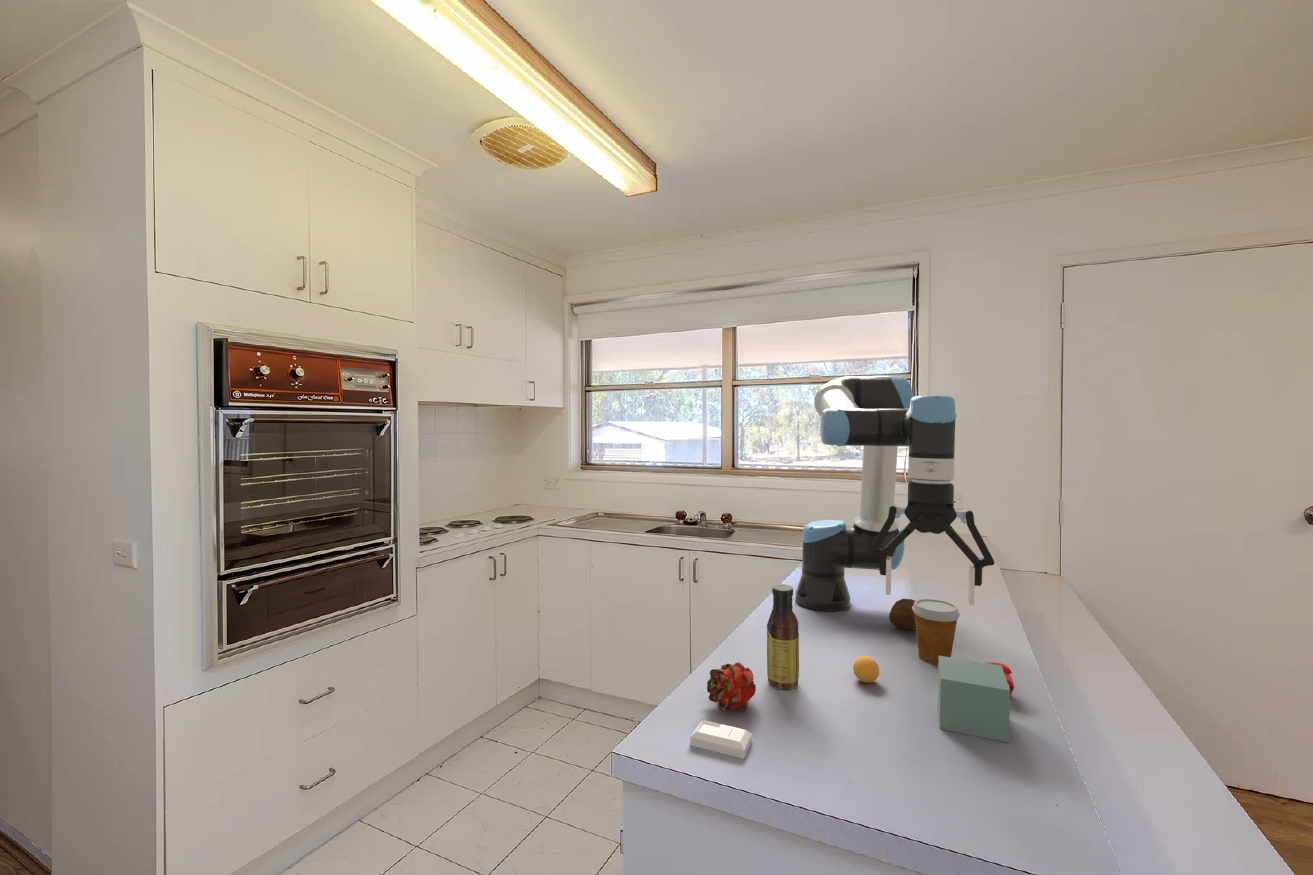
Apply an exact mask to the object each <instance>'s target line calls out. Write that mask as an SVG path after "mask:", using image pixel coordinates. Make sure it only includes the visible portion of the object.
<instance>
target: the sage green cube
mask: <svg viewBox="0 0 1313 875" xmlns="http://www.w3.org/2000/svg"><path fill="white" fill-rule="evenodd" d="M988 663H989V662H983V661H982V662H981V661H975V660H969V659H962V658H957V657H952V656H951V657H944V656H939V658H938V664H937V665H938V667H937V670H938V671H937V696H936V697H937V698H936V700H937V712H938V714H937V715H938V724H939V725H938V726H939V729H940V730H945V731H950V732H955V733H959V734H960V733H961V734H965V735H969V736H974V737H979V738H983V739H988V740H994V741H999V742H1003V743H1009V741H1010V740H1009V738H1010V736H1009V734H1010V711H1011V710H1010V707H1011V695H1010V689H1009V685H1008V683H1007V680H1006V677H1005V674H1004V671H1003V669H1002V666H1001V665H995V664H988Z"/></svg>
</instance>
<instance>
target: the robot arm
mask: <svg viewBox="0 0 1313 875" xmlns="http://www.w3.org/2000/svg"><path fill="white" fill-rule="evenodd" d="M813 402H814V408H815V411H816V412H817V414H818V415H819V416H820V437H821V438H820V439H821V440H820V441H821V442H822V444H824V445H827V446H837V447H843V446H844V447H846V446H853V447H854V446H857V447H861V446H862V447H863V449H862V450H863V451H862V469H861V472H862V473H861V488H860V490H861V491H860V505H859V506H860V507H859V515H858V516H856V517H855V518H854V520H853V526H849V525H848V526H847V524H846V522H845V521H844V520H841V519H821V520H814V521H812V522H809V523H807V524H806V525H804V526H803V529H802V539H801V542H802V557H801V558H802V559H801V560H802V561H801V562H802V563H801V565H802V566H801V576H800V578H799V581H798V584H797V587H796V590H795V598H794V599H795V602H796V603H797V604H798V605H800V606H802V607H804V608H807V609H810V610H814V611H815V610H816V611H822V612H823V611H824V612H838V611H839V612H840V611H844V610H846V609H849V608H850V607H851V595H850V591H849V588H848V585H847V581H846V579H845V569H861V570H875V571H876V570H877V571H879V574H880V576H885V595H887V596H890V595H891V592H892V571H893V570H896V569H897V568H899V566H900V565H901V563H902V561H903V557H904V552H905V540H906V539H907V538H908V537H909V536H910V535H911V534H912V533H914V531H915V530H916V531H917V532H919V533H922V534H927V533H931V534H935V535H940V534H943V533H945V534H946V535H947V536H948V537H949V539H951V540H952V542H953V543H954V544H955V545H956V546H957V547H958V548H959V549H960V551H961V552H962V553H963V554H964V556H966V558H967V559H968V560H969V561H970V563H971V564H968V594H967V595H968V596H967V597H968V605H969V606H973V607H974V606H975V586H977V587H981V586H982V584H983V568H985V567H989V566H990V567H991V566H994V565H995V564H996V563H995V562H996V561H995V559H994V558H993V556H992V553H991V551H990V550H989V548H988V546H987V545H986V543H985V540H984V539H983V537H982V535H981V533H980V531H979V530H978V527H977V526H976V524H975V515H974V512H973V510H972V509H969V508H968V509H966V510H958V511H957V510H955V508H954V501H955V485H954V483H951V481H954V480H955V459H956V458H955V449H956V447H955V445H956V444H955V443H956V419H957V413H956V401H955V399H954V398H953V397H952V396H949V395H916V396H914V394H913V389H912V385H911V383H910V381H909V380H908V378H905V377H903V376H895V375H872V376H870V375H869V376H868V375H866V376H864V375H862V376H861V375H860V376H854V375H853V376H851V375H849V376H842V377H839V378H835V379H832V380H831V381H828V382H827V383H826V382H825V383H824V384H823V385H822V386H820V388H819V389H818V391H817V392H816V394H815V397H814V401H813ZM899 447H906V448H907V447H908V459H907V460H908V466H907V468H908V472H907V473H908V474H907V478H908V479H910V481H909V482H908V483H907V505H906V507H902V506H897V505H896V504H895V494H896V480H897V479H896V477H897V476H896V475H897V462H898V461H897V460H898V448H899ZM902 515H904V516H906V518H907V519H908V524H907V525H906V526H905V527H904V528H903V529H901V528H900V527H899V523H898V521H896V520H895V519H899V518H900V517H901V516H902ZM957 518H958V519H960V521H961V523H963V524H966V526H967V528H968V530H969V532H970V534H971V536H972V538H973V540H974V542H975V543H976V545H977V547H978V549H979V551H980V553H981V555H982V557H980V558H979V557H978V555H977V554H976V552H974V551H973V549H971V547H970V546H969V544H968V543H966V542H965V541H964V539H963V538H962V537H961V535H960V534H958V533H957V531H956V530H955V529H954V528H953V526H952V523H954V521H955V520H956V519H957Z"/></svg>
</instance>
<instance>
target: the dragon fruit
mask: <svg viewBox="0 0 1313 875" xmlns="http://www.w3.org/2000/svg"><path fill="white" fill-rule="evenodd" d="M709 675H710V678H709V679H708V680H707V682H706V685H707V686H706V690H707V691H706V692H707V693H709V695H708V699H709V701H710V702H713V703H718V705H717V707H718V709H721V710H724V711H725V712H728V711H731V710H732V708H735V709H737V710H742V711H746V710H747V704H748V702H749V701H750V700H751V699H752V697H754V696H755V694H756V691H757V689H756V688H757V687H756V684H755V681H754V679H755V678H754V674H753V670H751V669H750V667H745V666H744V665H743V664H742V663H741V662H739V661H738V662H735V663H734V664H732V663H725V664H723V665H721V668H717V669H715V668H714V669H711V670H710V671H709Z"/></svg>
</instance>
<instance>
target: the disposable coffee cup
mask: <svg viewBox="0 0 1313 875" xmlns="http://www.w3.org/2000/svg"><path fill="white" fill-rule="evenodd" d="M912 610H913V612H914V615H915V625H916V629H915V631H916V632H915V634H916V642H917V649H918V650H917V651H918V658H919V659H921V660H923V661H924V662H926V663H930V664H933V665H938V658H939V656H944V657H951V658H952V653H953V652H952V651H953V646H954V640H955V636H956V631H957V630H956V629H957V624H958V623H957V622H958V619H959V618H960V616H961V613H960V611H959V608H958V606H956V604H955V603H951V602H948V601H946V600H941V599H936V598H919V599H916V600H915V602H914V605H913V606H912Z"/></svg>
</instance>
